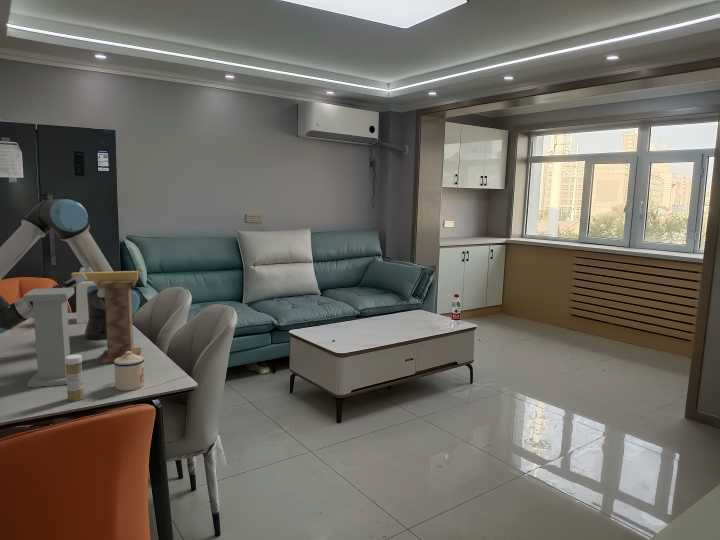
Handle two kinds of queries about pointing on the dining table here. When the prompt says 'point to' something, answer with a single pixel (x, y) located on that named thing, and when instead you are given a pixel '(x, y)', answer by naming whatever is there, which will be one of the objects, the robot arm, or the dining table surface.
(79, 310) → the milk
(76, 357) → the sprinkles bottle
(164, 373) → the dining table surface
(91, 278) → the ochre bar
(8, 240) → the robot arm
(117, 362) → the teacup with lid
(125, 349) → the walnut stand
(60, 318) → the grey stand
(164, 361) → the dining table surface
